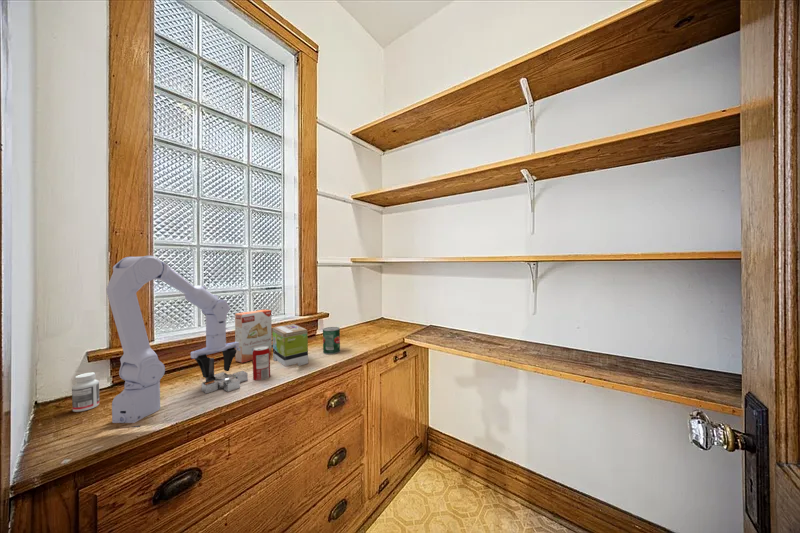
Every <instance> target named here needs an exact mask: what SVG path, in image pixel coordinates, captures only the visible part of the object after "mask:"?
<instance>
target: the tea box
mask: <svg viewBox="0 0 800 533" xmlns="http://www.w3.org/2000/svg"><path fill="white" fill-rule="evenodd" d="M308 334H309V333H308V329H306V328H305V327H302V326H300V325H298V324H295V323H291V324H287V325H286V324H285V325H280V326H275V327H272V326H271V336H272V358H273V359H272V360H273V361H274V362H278V363H280V364H281V365H283V367H287V366H292V365H296V364H297V367H301V366H304V365H307V364H309V344H308V343H309V342H308V337H309V336H308Z"/></svg>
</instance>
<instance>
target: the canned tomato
mask: <svg viewBox="0 0 800 533" xmlns="http://www.w3.org/2000/svg"><path fill="white" fill-rule="evenodd" d="M340 329H341V328H340V327H339V326H338V327H337V326H329V327H323V328H322V353H323V354H324V355H335V354H338V353H340V352H341V331H340Z"/></svg>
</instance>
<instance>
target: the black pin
mask: <svg viewBox="0 0 800 533" xmlns="http://www.w3.org/2000/svg"><path fill="white" fill-rule="evenodd" d="M209 358H210V360H209V366H208V377H207V378H205V382H206V381H210V380H214V375H215V359H214V357H209Z"/></svg>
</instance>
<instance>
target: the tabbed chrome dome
mask: <svg viewBox="0 0 800 533" xmlns="http://www.w3.org/2000/svg"><path fill="white" fill-rule="evenodd" d="M248 374H249V373H248V372H246V371H244V370H241V371H238V372H234V373H232V374H231V373H229V374H228V373H226V372H225V371H223V372H219V373H216V374H215V373H214V380H210V381H206V380H205V381H204V382H201V392H203V393H205V394H209V393H212V392H215V391H219V390H223V391H226V392H232V391H235V390H239V389H240V388H241V383H243V382H246V381H248V379H249V377H248Z"/></svg>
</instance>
